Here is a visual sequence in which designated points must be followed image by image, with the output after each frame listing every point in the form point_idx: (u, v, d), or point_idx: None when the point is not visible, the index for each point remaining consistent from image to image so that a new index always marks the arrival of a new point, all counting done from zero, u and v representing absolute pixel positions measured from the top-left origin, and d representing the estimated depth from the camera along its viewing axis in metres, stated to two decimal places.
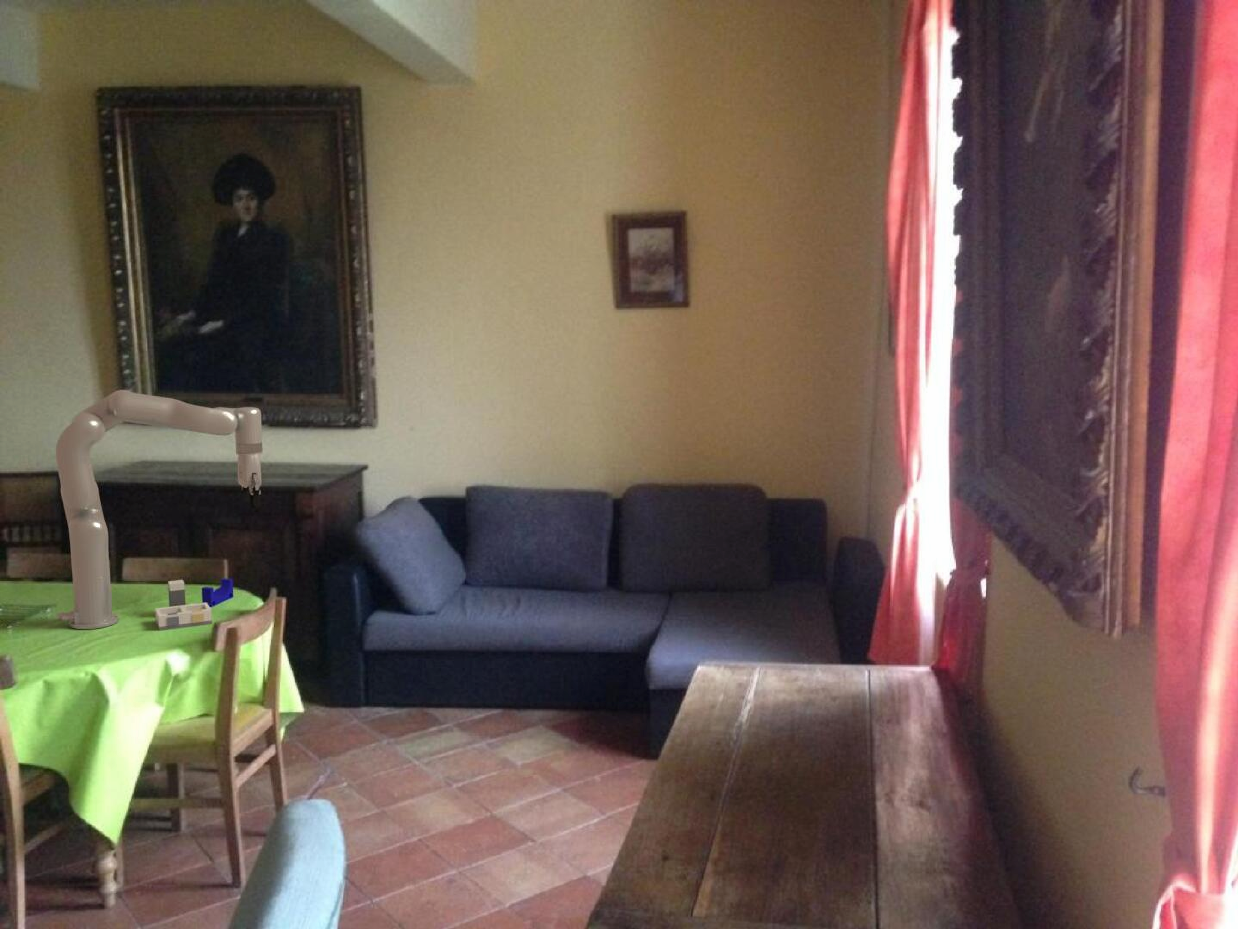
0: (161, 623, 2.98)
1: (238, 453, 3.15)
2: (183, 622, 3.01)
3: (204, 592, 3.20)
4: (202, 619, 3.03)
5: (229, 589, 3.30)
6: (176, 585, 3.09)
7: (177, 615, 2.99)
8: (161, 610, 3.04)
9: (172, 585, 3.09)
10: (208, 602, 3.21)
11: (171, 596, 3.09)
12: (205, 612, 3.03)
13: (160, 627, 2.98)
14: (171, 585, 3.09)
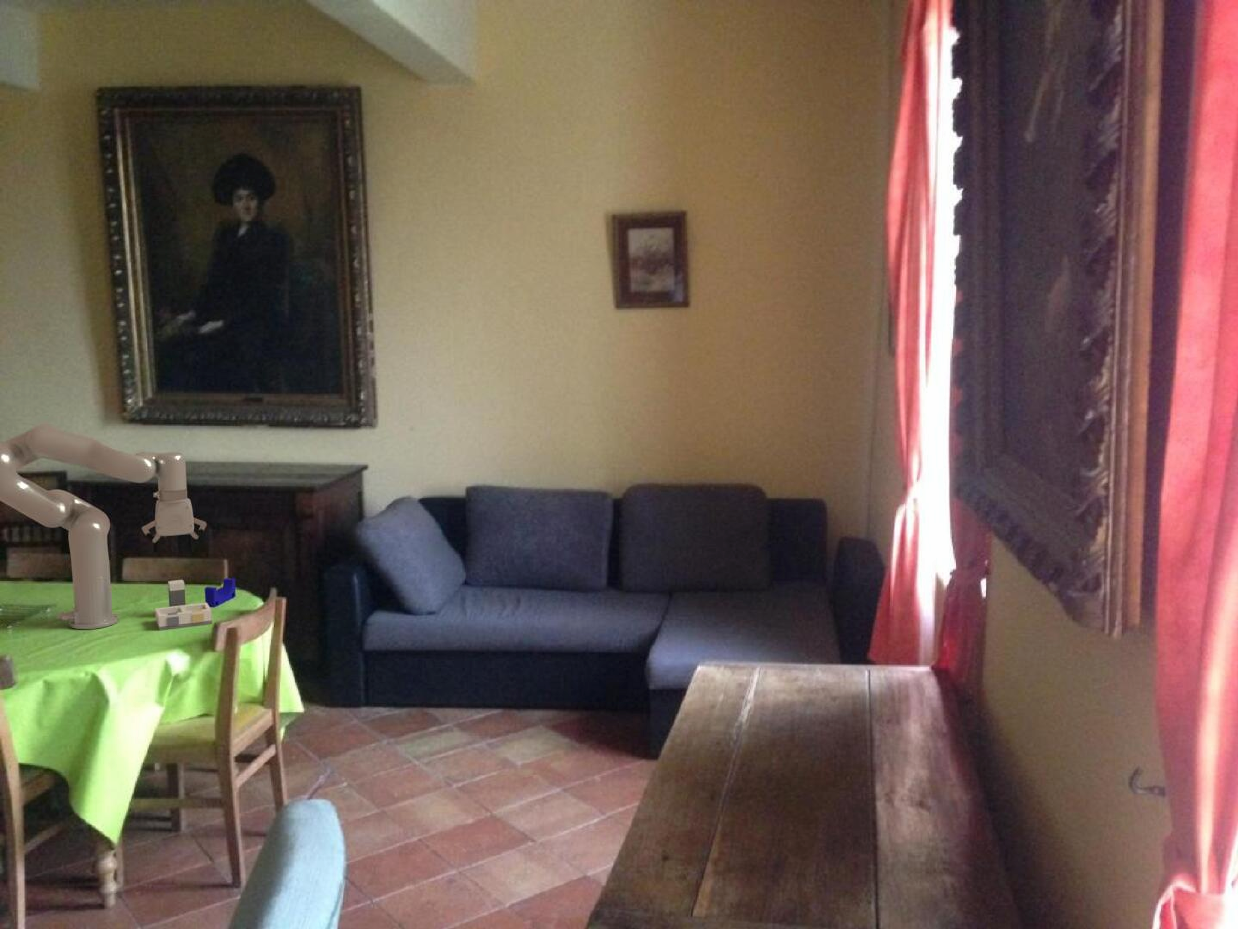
0: (161, 623, 2.98)
1: (179, 500, 3.04)
2: (183, 622, 3.01)
3: (207, 592, 3.20)
4: (202, 619, 3.03)
5: (231, 589, 3.30)
6: (176, 585, 3.09)
7: (177, 615, 2.99)
8: (161, 610, 3.04)
9: (172, 585, 3.09)
10: (211, 602, 3.21)
11: (171, 596, 3.09)
12: (205, 612, 3.03)
13: (160, 627, 2.98)
14: (171, 585, 3.09)
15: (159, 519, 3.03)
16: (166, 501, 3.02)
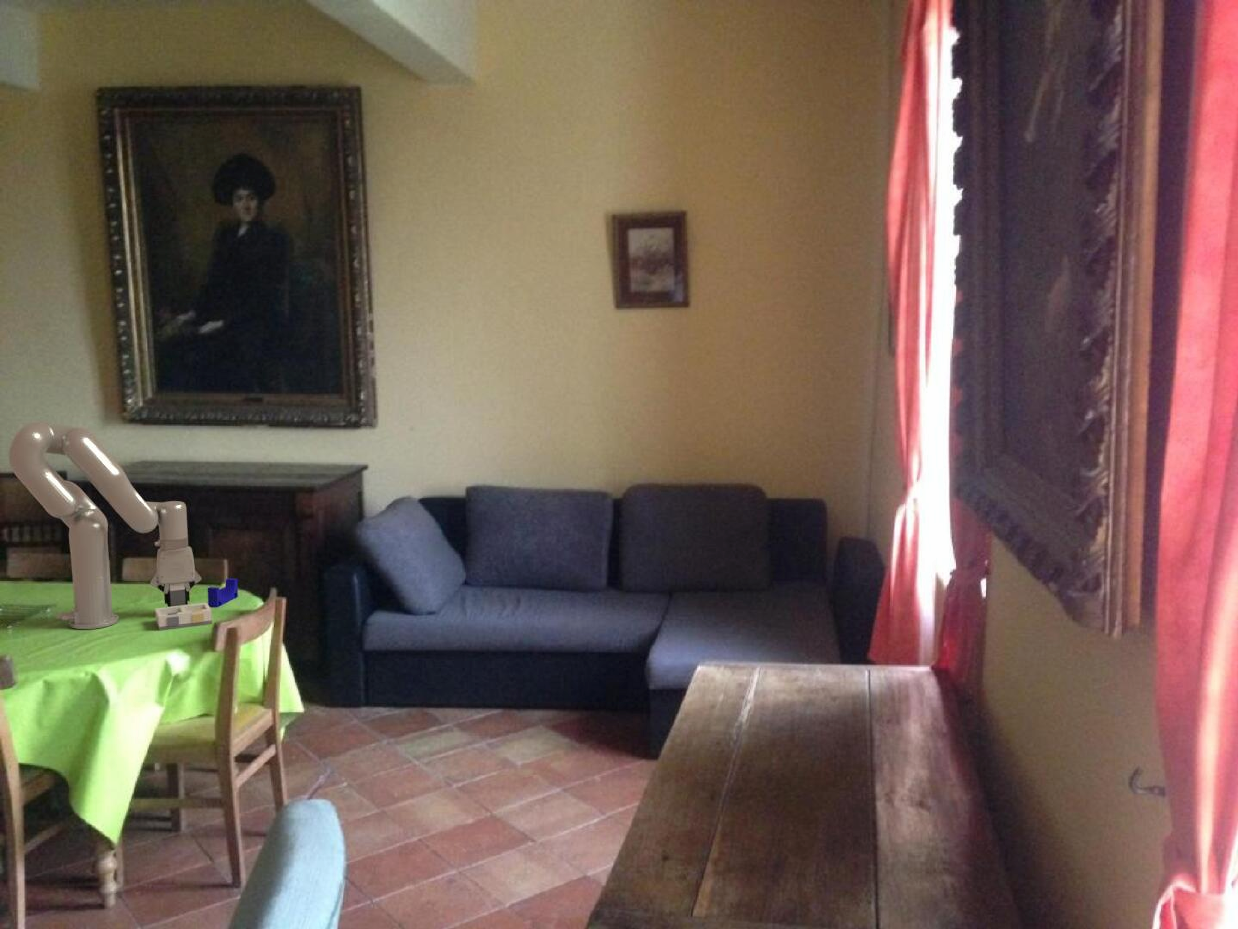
0: (161, 623, 2.98)
1: (180, 549, 3.07)
2: (183, 622, 3.01)
3: (210, 592, 3.20)
4: (202, 619, 3.03)
5: (234, 589, 3.30)
6: (176, 585, 3.09)
7: (177, 615, 2.99)
8: (161, 610, 3.04)
9: (172, 585, 3.09)
10: (214, 602, 3.21)
11: (171, 596, 3.09)
12: (205, 612, 3.03)
13: (160, 627, 2.98)
14: (171, 585, 3.09)
15: (161, 568, 3.06)
16: (168, 550, 3.06)
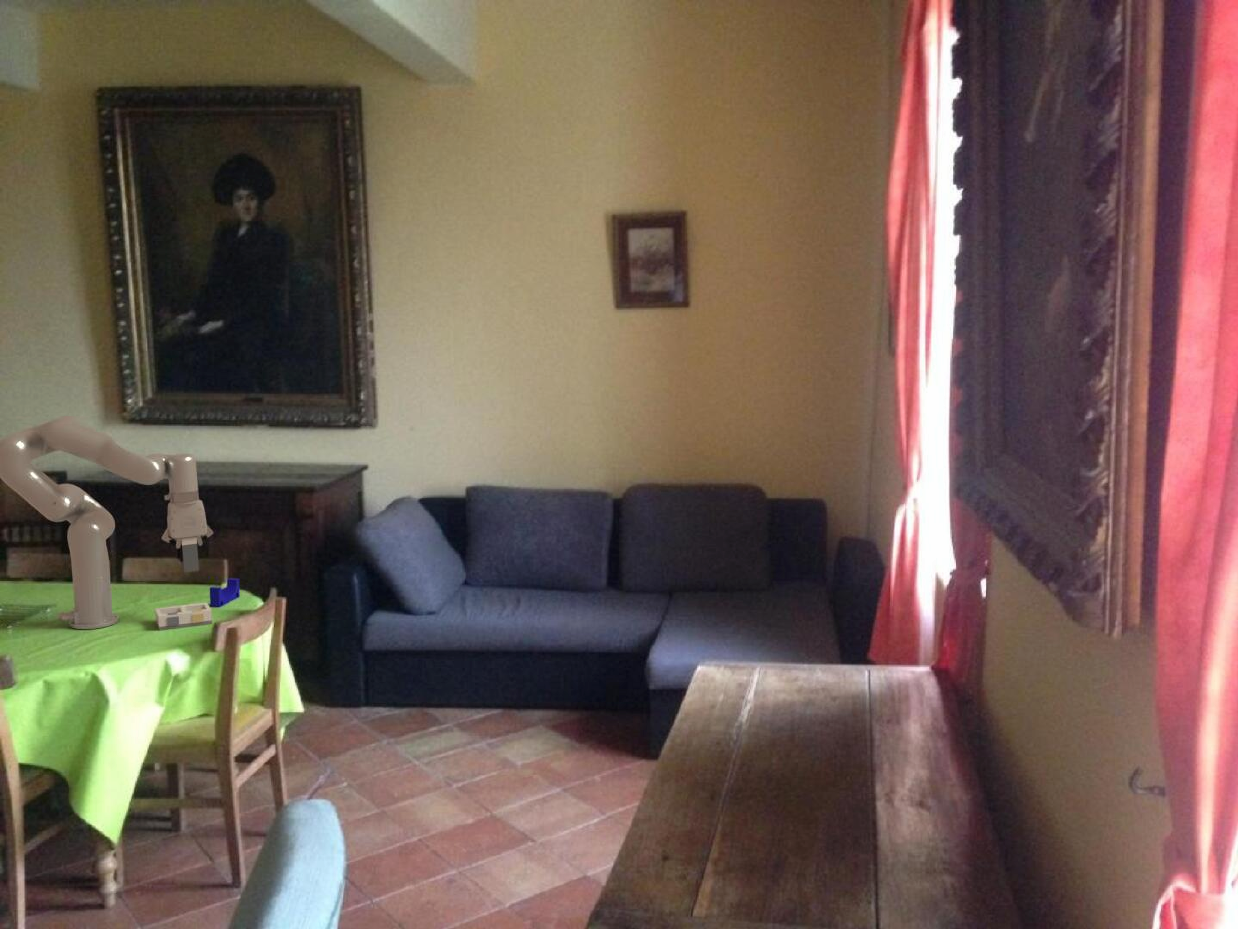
0: (161, 623, 2.98)
1: (192, 502, 3.01)
2: (183, 622, 3.01)
3: (212, 592, 3.20)
4: (202, 619, 3.03)
5: (236, 589, 3.30)
6: (188, 539, 3.03)
7: (177, 615, 2.99)
8: (161, 610, 3.04)
9: (184, 539, 3.03)
10: (216, 602, 3.21)
11: (183, 550, 3.03)
12: (205, 612, 3.03)
13: (160, 627, 2.98)
14: (183, 539, 3.03)
15: (172, 522, 3.00)
16: (179, 503, 3.00)
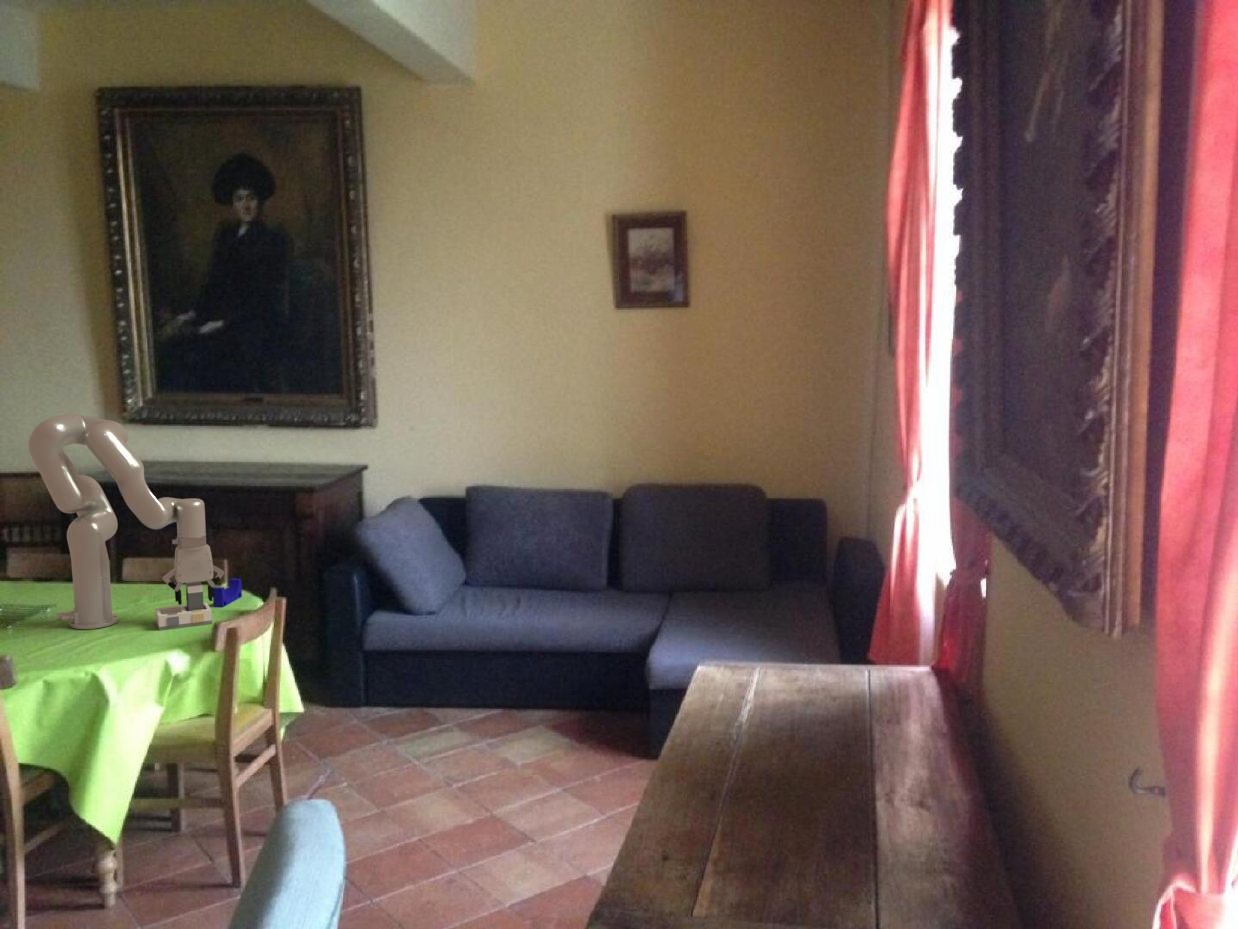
0: (161, 623, 2.98)
1: (199, 547, 3.01)
2: (183, 622, 3.01)
3: (215, 592, 3.20)
4: (202, 619, 3.03)
5: (238, 589, 3.30)
6: (194, 587, 3.03)
7: (177, 615, 2.99)
8: (161, 610, 3.04)
9: (190, 587, 3.03)
10: (219, 602, 3.21)
11: (189, 598, 3.03)
12: (205, 612, 3.03)
13: (160, 627, 2.98)
14: (189, 587, 3.03)
15: (179, 566, 3.00)
16: (186, 548, 3.00)
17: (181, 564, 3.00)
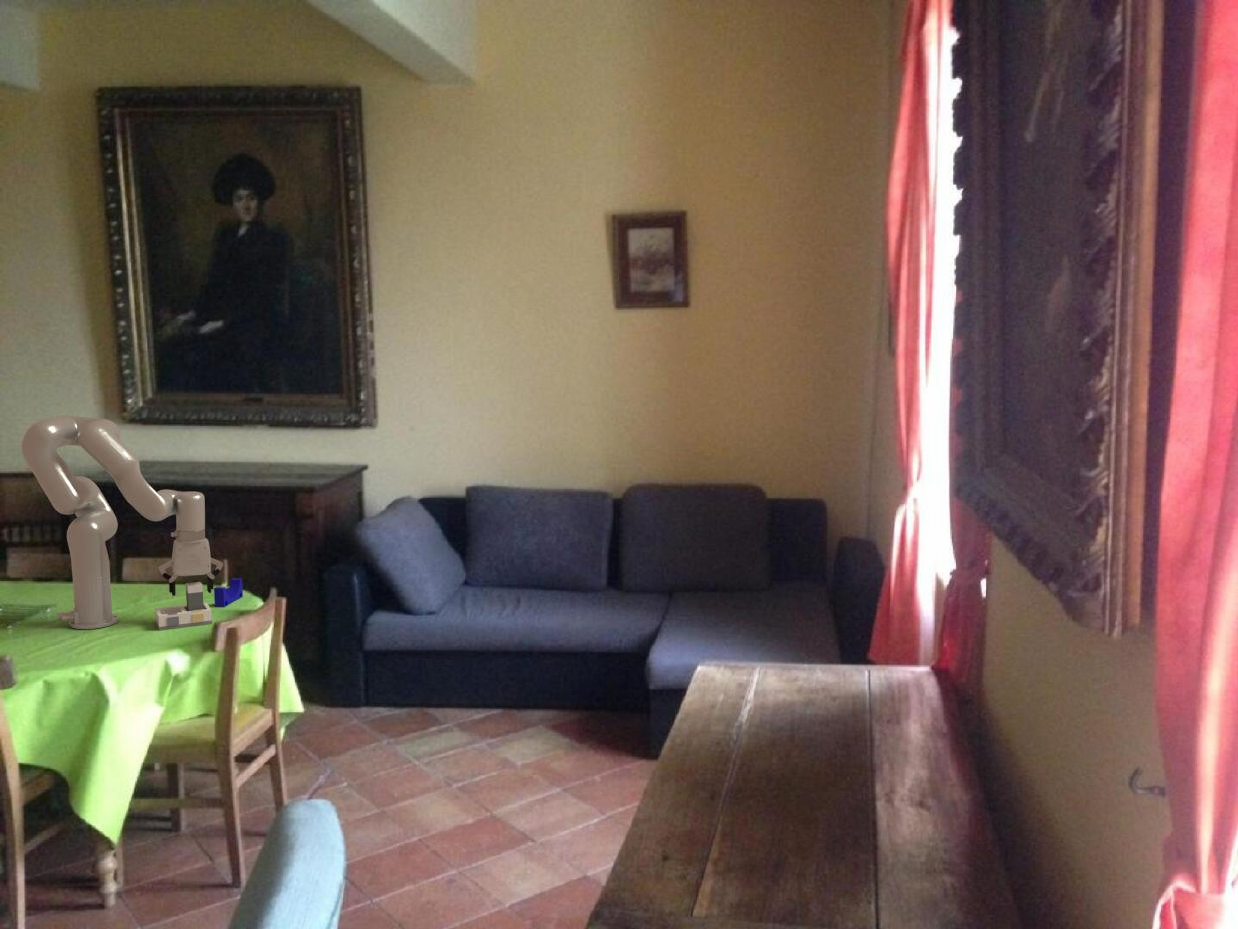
0: (161, 623, 2.98)
1: (197, 540, 3.01)
2: (183, 622, 3.01)
3: (216, 592, 3.20)
4: (202, 619, 3.03)
5: (239, 589, 3.30)
6: (194, 587, 3.03)
7: (177, 615, 2.99)
8: (161, 610, 3.04)
9: (190, 587, 3.03)
10: (221, 602, 3.21)
11: (189, 598, 3.03)
12: (205, 612, 3.03)
13: (160, 627, 2.98)
14: (189, 587, 3.03)
15: (177, 559, 2.99)
16: (184, 541, 2.99)
17: (179, 557, 3.00)
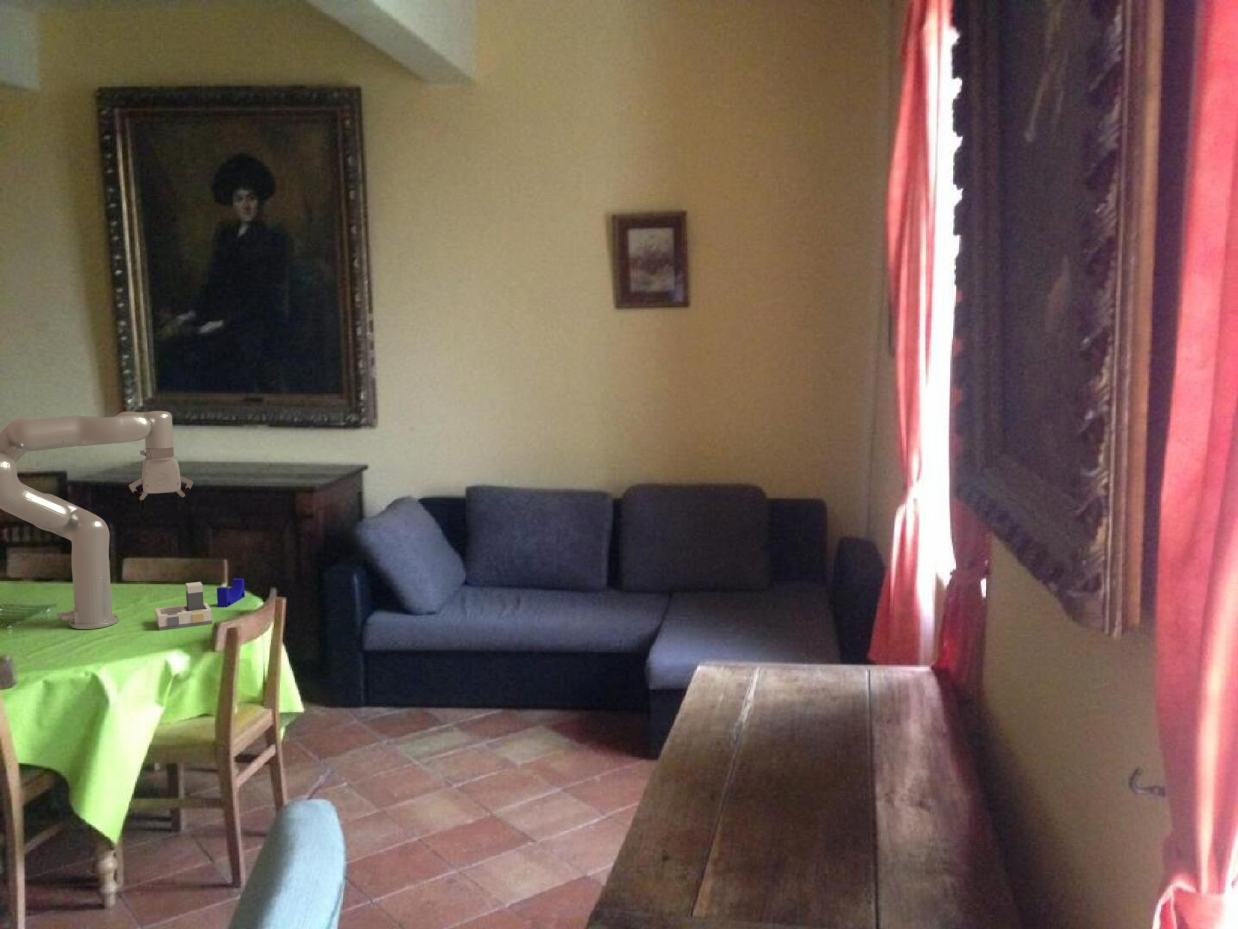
0: (161, 623, 2.98)
1: (166, 458, 3.07)
2: (183, 622, 3.01)
3: (219, 592, 3.20)
4: (202, 619, 3.03)
5: (241, 589, 3.30)
6: (194, 587, 3.03)
7: (177, 615, 2.99)
8: (161, 610, 3.04)
9: (190, 587, 3.03)
10: (223, 602, 3.21)
11: (189, 598, 3.03)
12: (205, 612, 3.03)
13: (160, 627, 2.98)
14: (189, 587, 3.03)
15: (146, 477, 3.06)
16: (153, 459, 3.06)
17: (149, 474, 3.06)
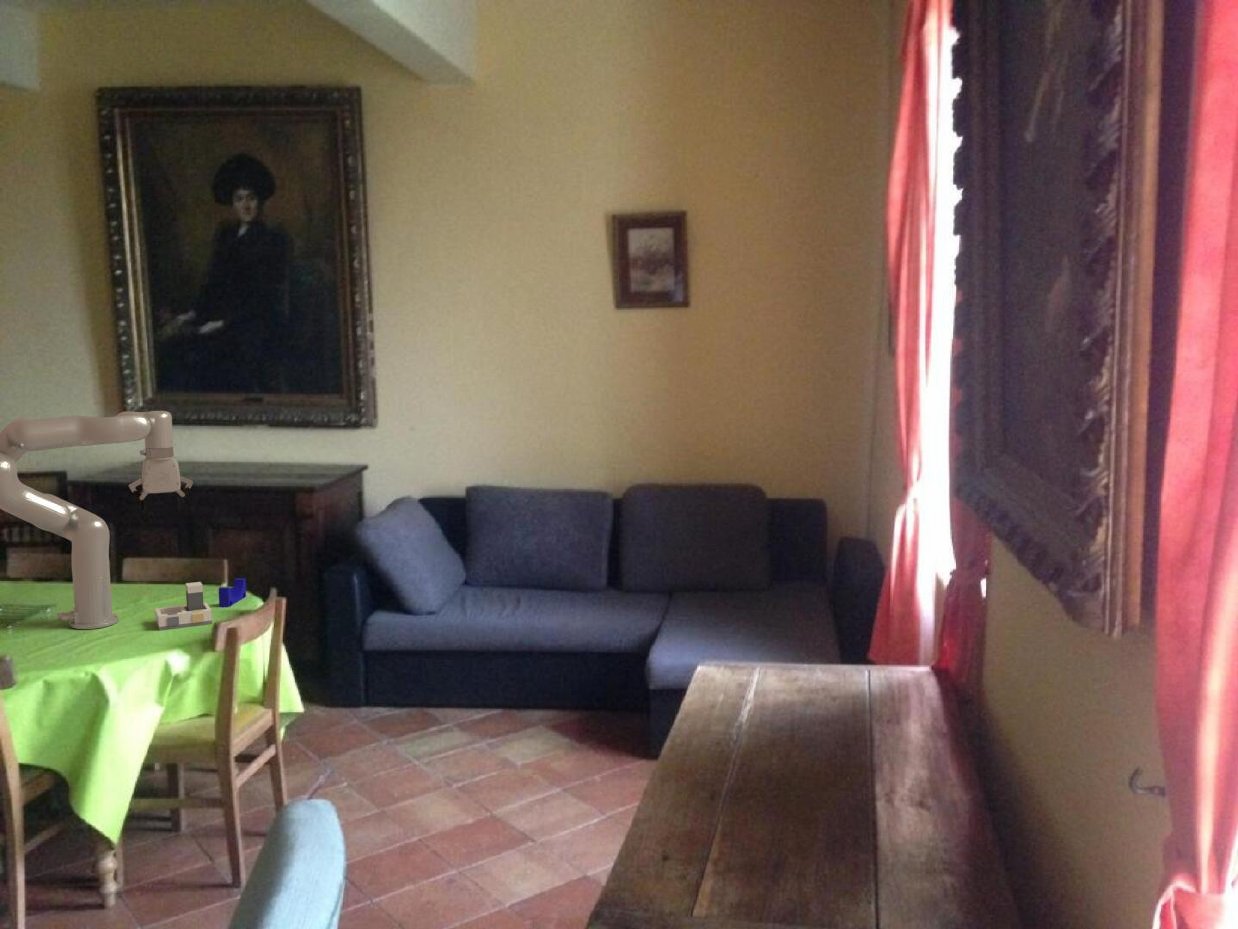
0: (161, 623, 2.98)
1: (166, 458, 3.07)
2: (183, 622, 3.01)
3: (221, 592, 3.20)
4: (202, 619, 3.03)
5: (243, 589, 3.30)
6: (194, 587, 3.03)
7: (177, 615, 2.99)
8: (161, 610, 3.04)
9: (190, 587, 3.03)
10: (225, 602, 3.21)
11: (189, 598, 3.03)
12: (205, 612, 3.03)
13: (160, 627, 2.98)
14: (189, 587, 3.03)
15: (146, 476, 3.06)
16: (153, 458, 3.06)
17: (148, 474, 3.06)
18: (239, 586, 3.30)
